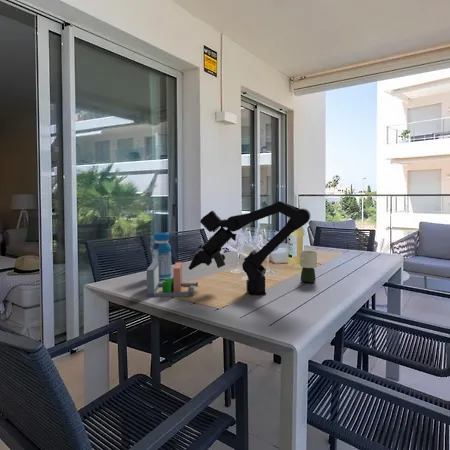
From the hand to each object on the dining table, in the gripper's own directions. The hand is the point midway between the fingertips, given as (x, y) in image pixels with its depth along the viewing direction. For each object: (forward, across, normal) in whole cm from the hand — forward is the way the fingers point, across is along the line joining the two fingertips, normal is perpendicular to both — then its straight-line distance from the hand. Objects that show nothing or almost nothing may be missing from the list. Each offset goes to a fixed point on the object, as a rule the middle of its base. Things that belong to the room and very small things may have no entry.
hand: (189, 269), depth 140 cm
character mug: (-29, +11, -41) cm, 51 cm away
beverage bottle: (+16, +21, +3) cm, 27 cm away
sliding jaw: (+7, 0, -5) cm, 8 cm away
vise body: (+11, 0, -1) cm, 11 cm away
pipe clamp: (+12, -1, -1) cm, 12 cm away
